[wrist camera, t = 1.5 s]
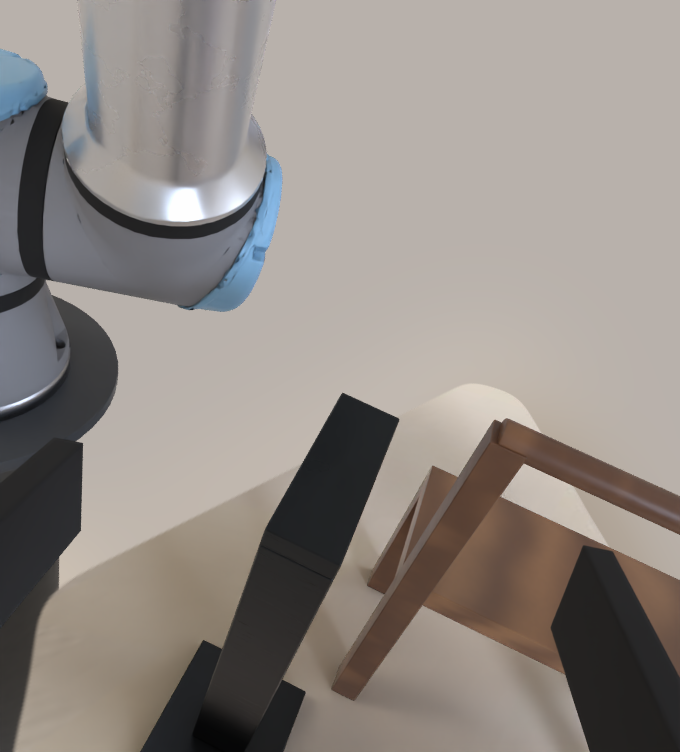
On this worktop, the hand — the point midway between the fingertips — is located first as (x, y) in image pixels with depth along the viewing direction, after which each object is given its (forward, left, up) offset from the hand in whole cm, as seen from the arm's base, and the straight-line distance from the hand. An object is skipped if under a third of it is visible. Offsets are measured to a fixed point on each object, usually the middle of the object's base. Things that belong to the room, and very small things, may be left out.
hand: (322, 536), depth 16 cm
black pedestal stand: (-2, +6, -25) cm, 26 cm away
